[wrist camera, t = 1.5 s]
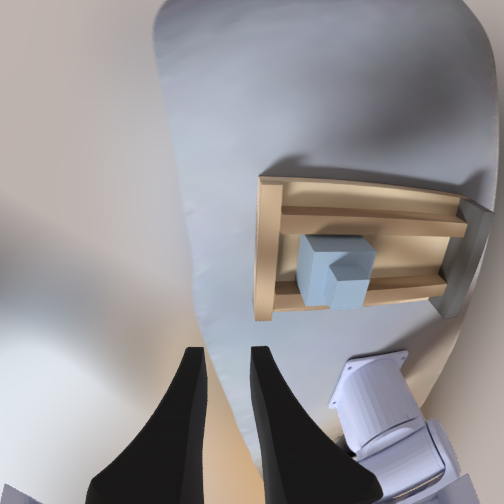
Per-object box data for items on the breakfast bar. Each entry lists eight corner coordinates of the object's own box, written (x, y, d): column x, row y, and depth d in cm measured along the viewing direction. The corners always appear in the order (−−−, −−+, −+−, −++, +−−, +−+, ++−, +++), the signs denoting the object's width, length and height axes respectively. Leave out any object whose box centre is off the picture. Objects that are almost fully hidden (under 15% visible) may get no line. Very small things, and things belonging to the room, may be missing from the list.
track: (433, 291, 24) (455, 316, 20) (252, 302, 23) (257, 340, 19) (462, 194, 19) (494, 213, 16) (258, 176, 18) (266, 194, 14)
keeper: (346, 276, 21) (372, 318, 16) (295, 278, 20) (311, 323, 16) (356, 229, 19) (388, 265, 15) (301, 228, 18) (322, 266, 14)
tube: (374, 472, 45) (371, 446, 34) (354, 486, 45) (343, 466, 33) (362, 458, 50) (353, 426, 38) (343, 471, 49) (326, 444, 37)
